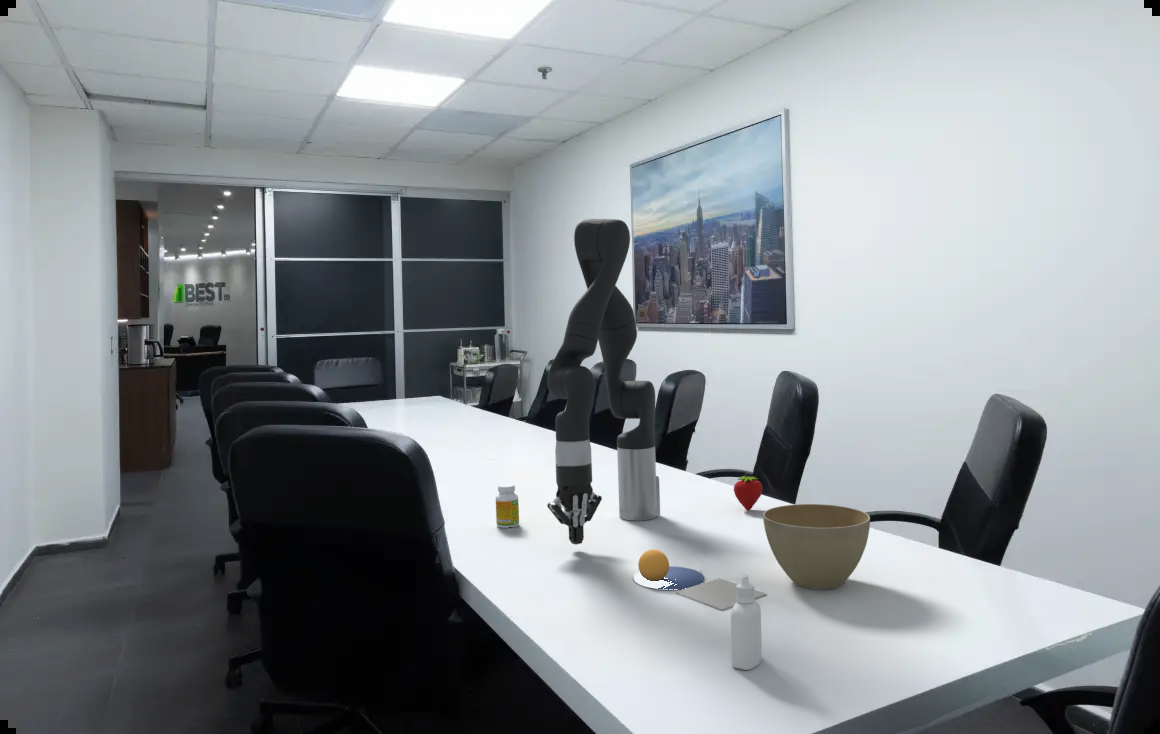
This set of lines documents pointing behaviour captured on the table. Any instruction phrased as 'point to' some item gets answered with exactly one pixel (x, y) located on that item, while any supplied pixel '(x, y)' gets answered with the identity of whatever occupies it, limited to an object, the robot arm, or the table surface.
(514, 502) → the supplement bottle
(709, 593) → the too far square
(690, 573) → the disc
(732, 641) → the eye dropper bottle
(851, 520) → the beige bowl
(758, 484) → the strawberry
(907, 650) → the table surface
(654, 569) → the ball
